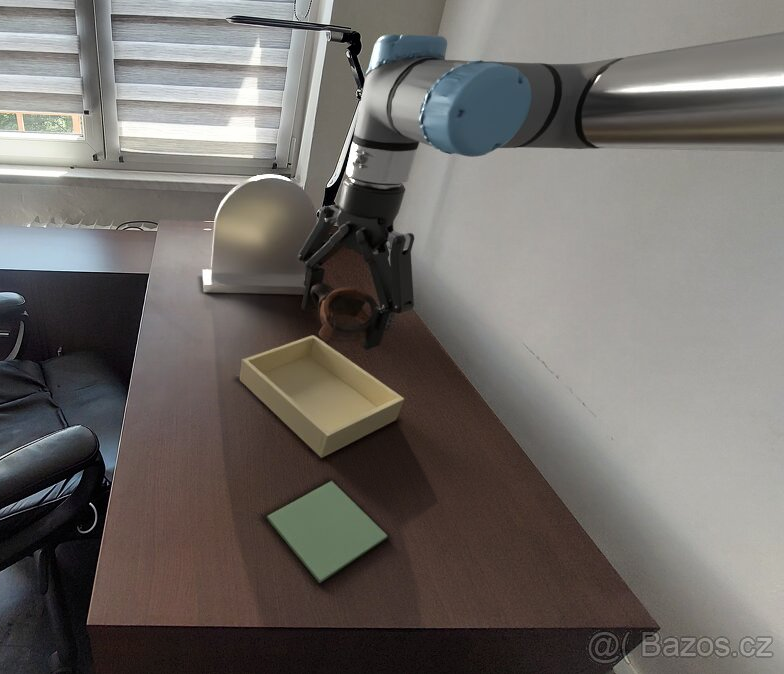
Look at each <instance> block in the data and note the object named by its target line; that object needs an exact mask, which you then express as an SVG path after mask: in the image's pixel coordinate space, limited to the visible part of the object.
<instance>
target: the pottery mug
mask: <svg viewBox="0 0 784 674" xmlns="http://www.w3.org/2000/svg"><path fill="white" fill-rule="evenodd" d="M311 296H312V299H313V301H314V303H315V304H316V306H315V307H317V315H318V317H320V321H321V324H322V326H321V328H320V330H319V331H318V337H319V338H320V340H321V341H323V342H324V343H327V342H329V341H332V342H357V341H360V338H361V339H365V338H366V335H367V331H368V328H369V325H370V321H371V318H372V315H373V311H374V308H375V307H378V306H379V305H378V303H377V301H376V300H375V299H374V297H373V296H372V294H369V293H368V292H367V291H365V290H363V289H361V288H358V287H353V286H344V287H343V286H342V287H340V288H336V289H334V288H332V287H331V286H330V285H329V284H326V283H324V282H322V283H321V282H320V283H316V284H315V285H314V286H313V287H312V289H311ZM366 303H368V305H369V307H370V311H371V312H370V314H369V312H367V311H366V310H365V308H364V306H365V304H366ZM339 316H347V317H353V318H355V319H356V320H358V321H359V322H360V324H354V325H353V324H352V325H351V324H344V323H342V322H340V321H338V320H334V321H333V323H332V322H331V318H334V317H339Z"/></svg>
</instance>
